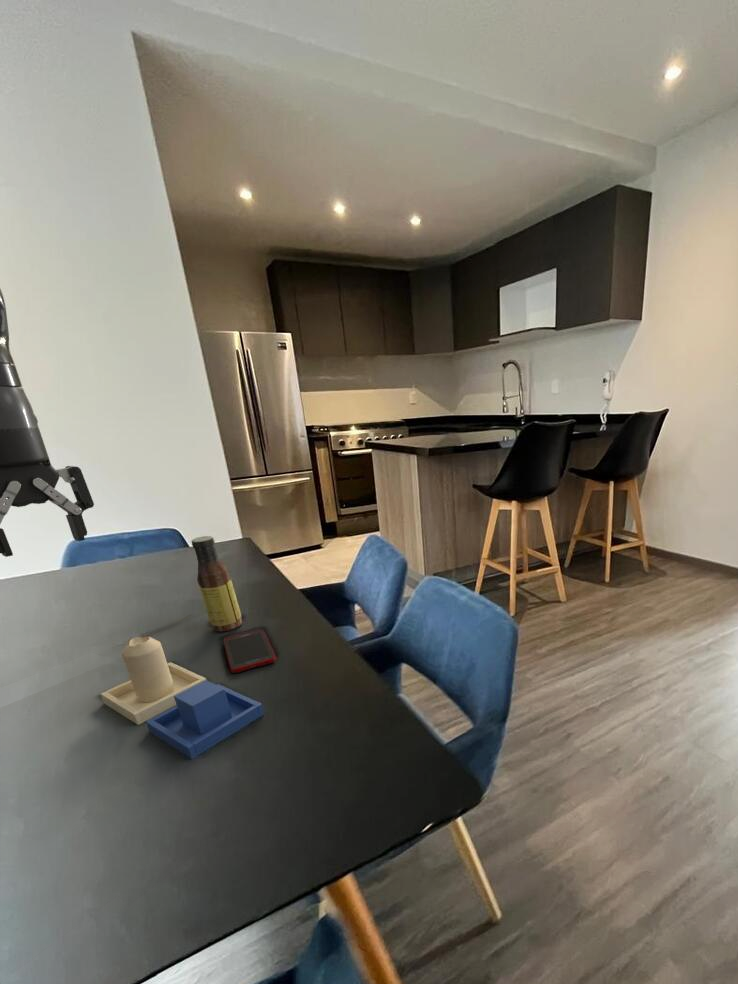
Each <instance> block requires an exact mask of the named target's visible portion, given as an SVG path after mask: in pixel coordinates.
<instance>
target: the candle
mask: <svg viewBox="0 0 738 984" xmlns="http://www.w3.org/2000/svg"><path fill="white" fill-rule="evenodd" d="M165 655H166V654H165V652H164V649H163V647H162V643H161V642H160V641H159V640H157V639H155V638H153V637H151V636H149V635H147V636H144V637H139V636H138V637H137V636H136V637H133V638H131V639H130V641H129V642H128V643H127V644H126V646H124V648H123V649H122V651H121V657H122V660H123V663H124V664H125V668H126V671H127V674H128V676H129V679H130V680H131V682H132V685H133V688H134V690H135V693H136V696H137V698H138V700H139V701H141V702H154V701H157V700H160V699H162V698H164V697H166V696H168V695H170V694H171V693H172V692H173V691H174V689H175V687H174V683H173V680H172V677H171V674H170V670H169V667H168V664H167V663H168V662H167V658H166V656H165Z"/></svg>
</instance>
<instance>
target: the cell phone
mask: <svg viewBox="0 0 738 984" xmlns="http://www.w3.org/2000/svg"><path fill="white" fill-rule="evenodd" d="M223 645H224V649H225V653H226V657H227V660H228V664H229V667H230V671H231V673H233V674H237V673H241V672H243V671H249V670H251V669H255V668H258V667H263V666H266V665H270V664H272V663H275V662H276V660H277V659H276V654H275V652H274V649H273V647H272V646H271V643H270V642H269V639H268V637H267V635H266V631H264V630H263V629H256V630H253V631H249V632H245V633H241V634H237V635H232V636H228V637H226V638H224V639H223Z"/></svg>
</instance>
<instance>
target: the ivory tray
mask: <svg viewBox="0 0 738 984" xmlns="http://www.w3.org/2000/svg"><path fill="white" fill-rule="evenodd" d="M167 664H168V667H169V670H170V674H171V677H172V680H173V683H174V687H175V689H174V691H173V692H172V693H171V694H170V695H168V696H166V697H164V698H162V699H160V700H157V701H154V702H141V701H139V700H138V698H137V696H136V693H135V690H134V688H133V685H132V682H131V679H130V680H127V681H126V682H123V683H121V684H118V685H116V686H115V687H112V688H110V689H107V690H106V691H103V692H101V693H100V696H101V699H102V702H103V704H104V705H105V706H107V707H109V708H110V709H112V710H114V711H115V712H116V713H119V714H120V715H122V716H123V717H125V718H126V719H127V720H129V721H131V722H132V723H134V724H136V725H137V726H140V725H142V724H143V723H146V721H148V720H150V719H152V718H154V717H156V716H158V715H160V714H162V713H164V712H165V711H167V710H169V709H171V708H173V707H175V706H177V705H176V702H175V699H174V696H176V695H178V694H179V693H181V692H183V691H185V690H187V689H189V688H191V687H193V686H195V685H197V684H199V683H201V682H203V681H205V680H206V681H208V680H207V678H206V677H205V676H202V675H200V674H197V673H195V672H193V671H191V670H188V669H187V668H185V667H182V666H180V665H178V664H175V663H173V662H167Z"/></svg>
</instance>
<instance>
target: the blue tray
mask: <svg viewBox="0 0 738 984" xmlns="http://www.w3.org/2000/svg"><path fill="white" fill-rule="evenodd" d="M216 685H217V686H219V687H221V688H223V689H225V693H226V696H227V700H228V704H229V707H230V711H231V714H232V717H231V718H229V719H228V720H226V721H224V722H223V723H221V724H219V725H217V726H216V727H214V728H212V729H211V730H209V731H207V732H206V733H204V734H202V735H200V734H199V733H197V732H195V731H194V730H192V729H190V728H188V727H187V726H185V725H183V723H182V720H181V717H180V714H179V711H178V708H177V705H176V706H174V707H172V708H170V709H168V710H166V711H164V712H162V713H160V714H158V715H157V716H155V717H153V718H151V719H149V720H147V721H145V724H146V726H147V729H148V733H150V734H152V735H153V736H155V737H156V738H158V739H159V740H161V741H162V742H164V743H165V744H166V745H168V746H170V747H171V748H173V749H175V750H177V751H178V752H180V753H181V754H183V755H185V756H186V757H188V758H189V759H190V760H193V759H195V758H196V757H198V756H199V755H201V754H203V753H204V752H206V751H208V750H209V749H211V748H212V747H214V746H216V745H217V744H220V742H222V741H223V740H226V739H227V738H229V737H230V736H232V735H234V734H235V733H237V732H238V731H240V730H242V729H243V728H245V727H246V726H248V725H250V724H251V723H253V722H255V721H256V720H258V719H259V718H261V717H263V716H264V715H265V711H264V707H263V704H262V703H260V702H259V701H256V700H254V699H252V698H249V697H248V696H245V695H244V694H241V693H239V692H236V691H234V690H232V689H230V688H228V687H226V686H224V685H222V684H219V683H217V684H216Z"/></svg>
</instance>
